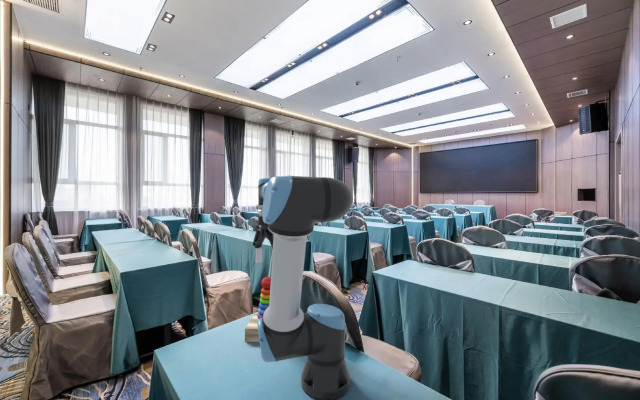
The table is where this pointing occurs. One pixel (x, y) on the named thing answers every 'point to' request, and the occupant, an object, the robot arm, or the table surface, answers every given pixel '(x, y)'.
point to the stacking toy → (264, 297)
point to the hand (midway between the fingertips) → (266, 265)
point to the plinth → (252, 330)
